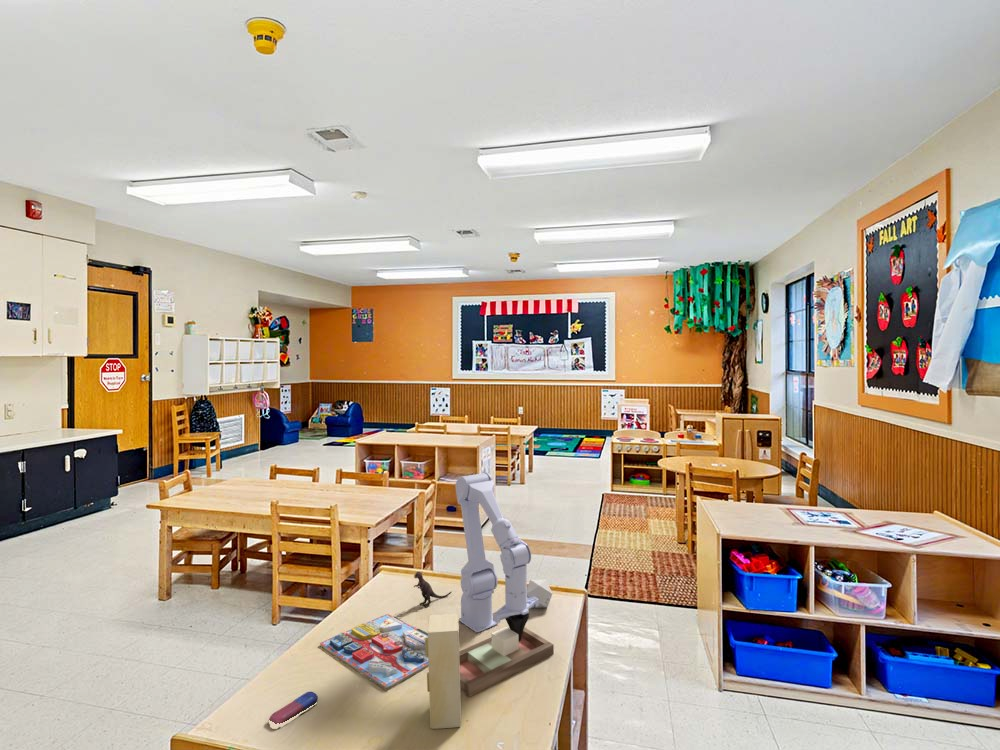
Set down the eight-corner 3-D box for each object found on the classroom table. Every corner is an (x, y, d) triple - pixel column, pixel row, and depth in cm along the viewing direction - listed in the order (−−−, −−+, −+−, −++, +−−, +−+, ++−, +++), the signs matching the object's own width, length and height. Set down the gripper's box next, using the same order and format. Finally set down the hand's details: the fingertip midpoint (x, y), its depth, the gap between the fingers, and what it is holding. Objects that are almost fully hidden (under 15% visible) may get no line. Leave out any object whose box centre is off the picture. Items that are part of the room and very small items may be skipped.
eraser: (275, 733, 112) (275, 725, 112) (264, 725, 114) (264, 717, 114) (320, 703, 121) (320, 695, 121) (310, 696, 124) (309, 689, 124)
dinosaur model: (412, 571, 166) (448, 561, 176) (410, 606, 167) (446, 594, 177) (419, 575, 163) (455, 565, 174) (417, 611, 164) (453, 598, 174)
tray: (437, 670, 133) (437, 660, 133) (520, 633, 150) (519, 624, 150) (469, 697, 123) (468, 686, 123) (553, 653, 140) (553, 644, 140)
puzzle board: (456, 652, 142) (456, 642, 142) (386, 693, 125) (386, 682, 125) (387, 616, 163) (387, 607, 162) (319, 647, 145) (319, 638, 145)
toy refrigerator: (428, 705, 120) (426, 614, 119) (460, 703, 121) (459, 612, 120) (426, 730, 112) (424, 633, 111) (461, 727, 113) (459, 631, 112)
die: (544, 616, 161) (559, 587, 164) (519, 601, 162) (535, 572, 165) (542, 614, 169) (556, 586, 171) (518, 599, 170) (533, 571, 173)
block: (491, 648, 138) (491, 633, 138) (506, 641, 142) (506, 626, 141) (503, 656, 135) (503, 641, 134) (518, 649, 138) (518, 634, 138)
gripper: (504, 603, 132) (505, 656, 133) (546, 586, 142) (546, 636, 142) (487, 593, 138) (488, 644, 138) (528, 578, 147) (529, 626, 148)
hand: (516, 639), depth 141 cm, fingers closed
